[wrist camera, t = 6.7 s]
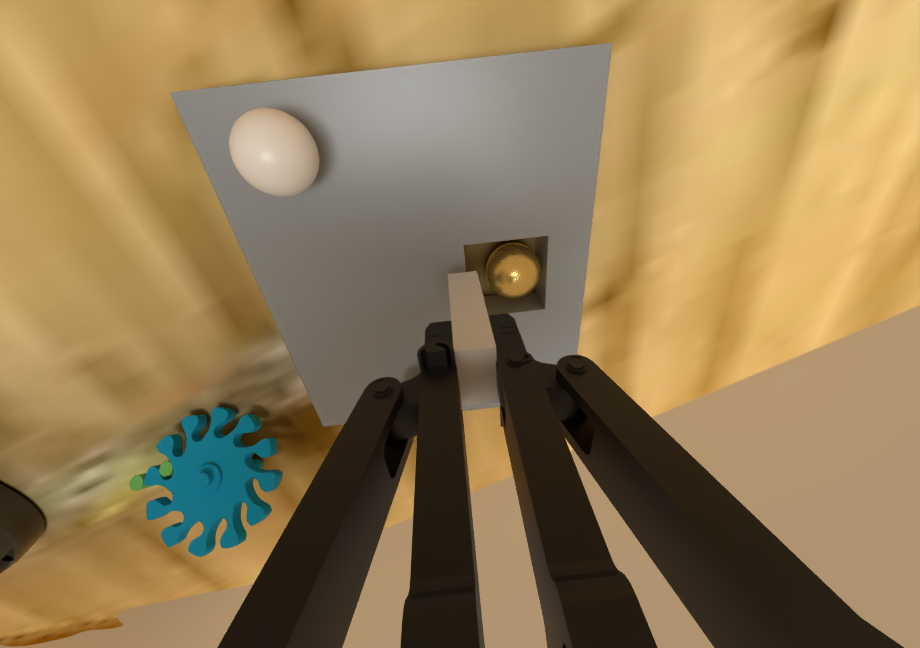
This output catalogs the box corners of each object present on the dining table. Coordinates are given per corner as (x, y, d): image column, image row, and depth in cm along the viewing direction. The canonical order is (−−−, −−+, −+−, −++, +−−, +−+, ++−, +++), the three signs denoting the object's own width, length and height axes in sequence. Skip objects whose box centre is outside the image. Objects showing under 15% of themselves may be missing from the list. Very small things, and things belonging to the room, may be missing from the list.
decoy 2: (269, 191, 16) (235, 209, 13) (238, 111, 14) (193, 113, 12) (336, 184, 16) (317, 199, 13) (314, 103, 14) (287, 103, 12)
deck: (332, 401, 27) (323, 426, 25) (204, 94, 16) (169, 92, 14) (561, 375, 27) (571, 398, 25) (588, 50, 16) (612, 42, 14)
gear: (279, 409, 25) (258, 566, 23) (319, 407, 30) (305, 531, 28) (138, 404, 26) (105, 555, 23) (202, 403, 31) (180, 524, 29)
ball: (504, 278, 23) (476, 299, 21) (504, 231, 21) (472, 249, 19) (549, 290, 21) (522, 314, 19) (552, 239, 19) (523, 260, 17)
